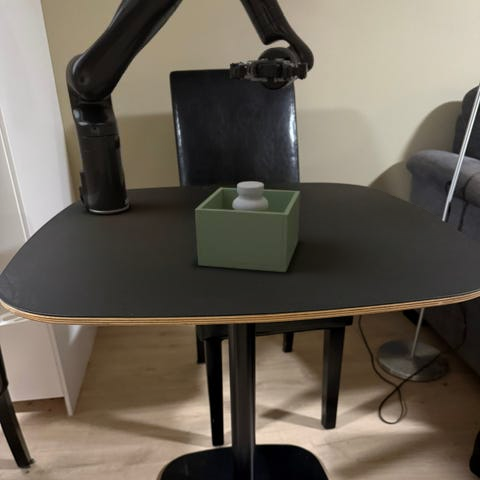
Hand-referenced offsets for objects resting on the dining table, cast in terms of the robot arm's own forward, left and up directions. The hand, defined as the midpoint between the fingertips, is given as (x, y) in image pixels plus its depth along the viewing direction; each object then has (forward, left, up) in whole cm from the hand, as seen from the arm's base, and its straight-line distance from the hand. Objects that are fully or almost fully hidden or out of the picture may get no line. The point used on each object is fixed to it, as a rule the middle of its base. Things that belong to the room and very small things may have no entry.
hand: (261, 72), depth 85 cm
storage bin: (0, -11, -30) cm, 32 cm away
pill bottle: (0, -11, -29) cm, 31 cm away
